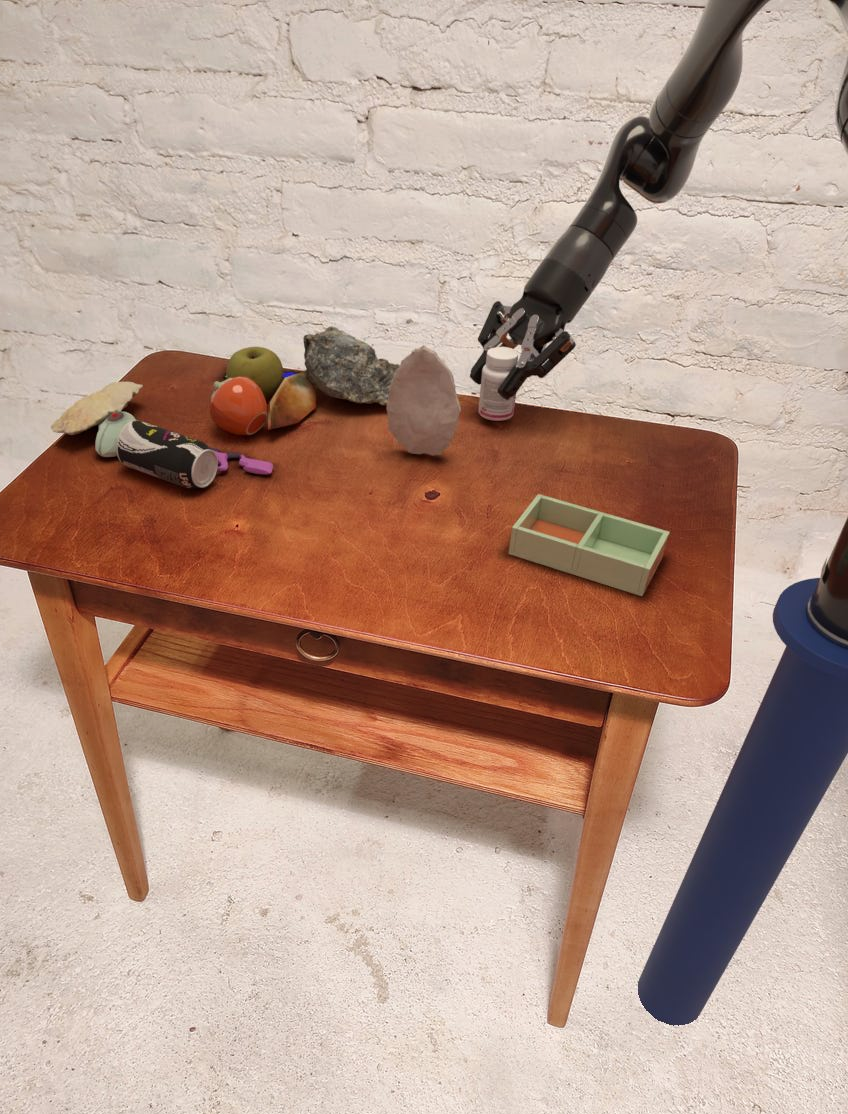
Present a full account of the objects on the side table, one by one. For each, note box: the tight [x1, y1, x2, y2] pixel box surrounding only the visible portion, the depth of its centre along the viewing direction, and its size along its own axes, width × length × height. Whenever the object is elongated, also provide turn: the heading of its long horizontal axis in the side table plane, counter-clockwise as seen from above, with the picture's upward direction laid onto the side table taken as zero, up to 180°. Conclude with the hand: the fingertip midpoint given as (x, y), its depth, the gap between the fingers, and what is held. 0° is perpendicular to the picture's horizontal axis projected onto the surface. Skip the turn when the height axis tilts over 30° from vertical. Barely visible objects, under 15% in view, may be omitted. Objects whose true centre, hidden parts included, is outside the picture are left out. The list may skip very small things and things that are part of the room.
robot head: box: [94, 411, 136, 458], centre depth 109 cm, size 8×4×7 cm
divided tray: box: [507, 493, 671, 597], centre depth 94 cm, size 15×8×4 cm, turn 61°
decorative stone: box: [267, 370, 317, 431], centre depth 116 cm, size 14×6×3 cm
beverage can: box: [116, 419, 219, 490], centre depth 104 cm, size 6×6×12 cm
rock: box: [302, 326, 400, 406], centre depth 119 cm, size 14×10×10 cm
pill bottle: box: [477, 346, 519, 422], centre depth 115 cm, size 5×5×8 cm
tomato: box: [209, 376, 268, 436], centre depth 113 cm, size 7×7×8 cm
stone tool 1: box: [50, 381, 144, 436], centre depth 114 cm, size 8×4×15 cm
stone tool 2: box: [386, 344, 462, 457], centre depth 105 cm, size 9×3×15 cm, turn 80°
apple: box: [225, 346, 284, 405], centre depth 118 cm, size 8×8×7 cm
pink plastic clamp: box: [208, 446, 274, 476], centre depth 109 cm, size 21×1×5 cm
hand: (488, 388), depth 114 cm, fingers closed on pill bottle, 4 cm apart
